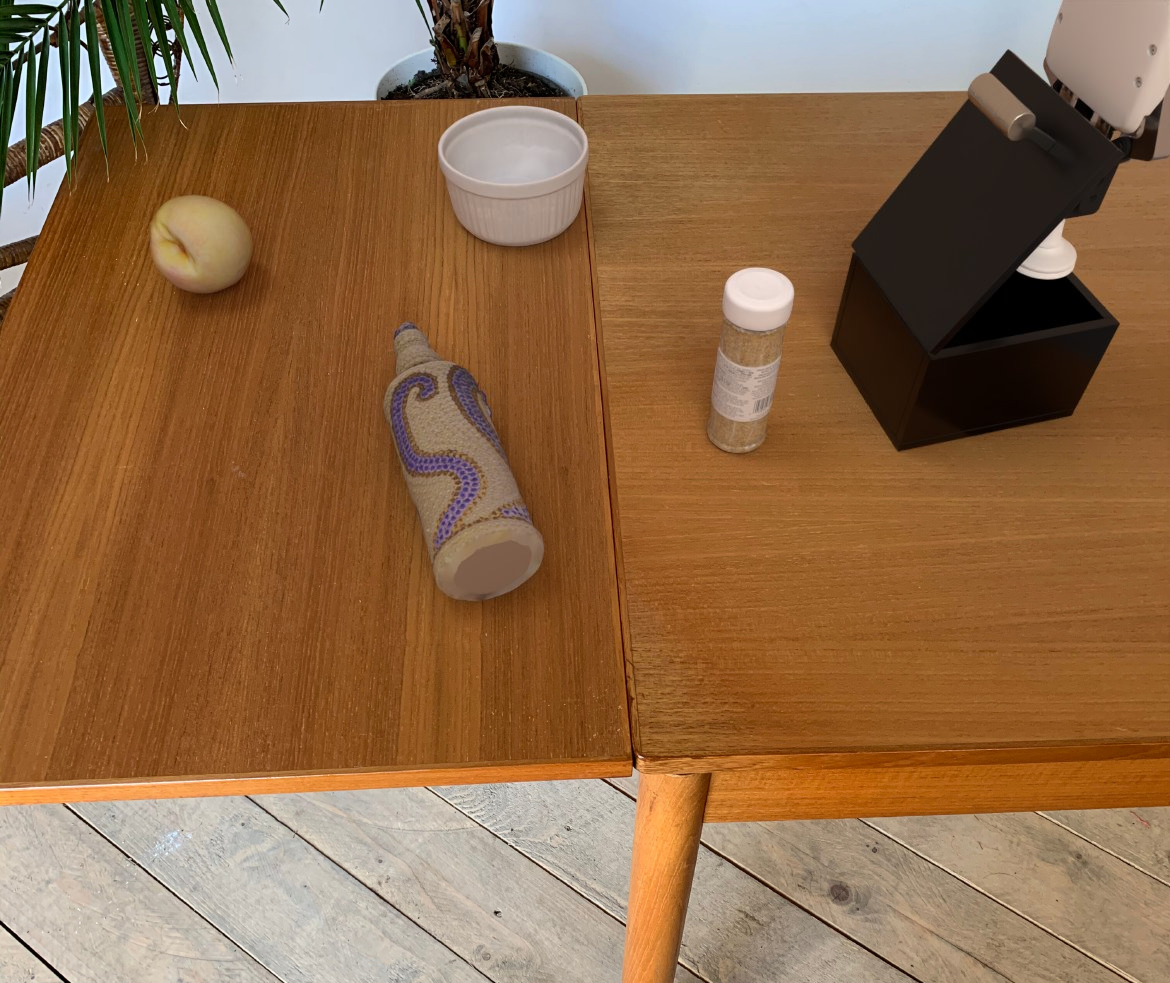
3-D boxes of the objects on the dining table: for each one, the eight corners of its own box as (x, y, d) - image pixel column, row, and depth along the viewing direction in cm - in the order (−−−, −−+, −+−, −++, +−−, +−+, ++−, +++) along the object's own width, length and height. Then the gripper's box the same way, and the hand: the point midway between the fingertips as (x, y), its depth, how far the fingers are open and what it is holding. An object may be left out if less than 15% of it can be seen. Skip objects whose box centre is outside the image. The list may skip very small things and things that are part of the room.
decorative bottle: (552, 587, 68) (548, 522, 62) (442, 616, 66) (429, 553, 61) (459, 346, 82) (450, 277, 77) (368, 366, 81) (352, 297, 76)
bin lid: (1014, 53, 66) (968, 19, 63) (1125, 154, 59) (1078, 120, 56) (857, 248, 75) (810, 226, 72) (935, 356, 68) (887, 336, 65)
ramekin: (423, 241, 91) (413, 170, 85) (476, 165, 99) (469, 94, 93) (563, 268, 89) (562, 196, 83) (606, 187, 96) (607, 116, 91)
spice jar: (743, 406, 78) (768, 256, 67) (777, 442, 76) (810, 293, 65) (693, 426, 77) (711, 277, 66) (727, 464, 74) (751, 316, 64)
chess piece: (1003, 274, 71) (1056, 138, 63) (1002, 234, 74) (1053, 99, 66) (1076, 284, 70) (1139, 149, 62) (1072, 243, 73) (1132, 109, 65)
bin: (990, 315, 85) (1027, 222, 78) (1072, 416, 77) (1120, 323, 70) (829, 345, 82) (852, 251, 75) (897, 452, 75) (930, 359, 68)
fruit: (152, 284, 87) (118, 200, 81) (238, 247, 90) (212, 164, 84) (192, 327, 84) (160, 243, 77) (281, 287, 87) (256, 203, 81)
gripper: (1356, -56, 50) (1181, 263, 65) (1164, -165, 59) (1049, 135, 74) (1225, -39, 49) (1077, 282, 64) (1051, -153, 58) (956, 150, 73)
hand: (1063, 201), depth 69 cm, fingers closed on chess piece
